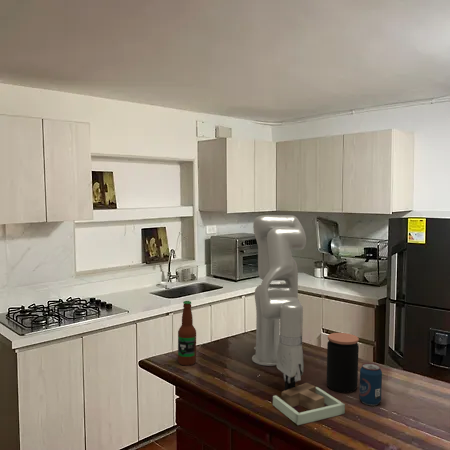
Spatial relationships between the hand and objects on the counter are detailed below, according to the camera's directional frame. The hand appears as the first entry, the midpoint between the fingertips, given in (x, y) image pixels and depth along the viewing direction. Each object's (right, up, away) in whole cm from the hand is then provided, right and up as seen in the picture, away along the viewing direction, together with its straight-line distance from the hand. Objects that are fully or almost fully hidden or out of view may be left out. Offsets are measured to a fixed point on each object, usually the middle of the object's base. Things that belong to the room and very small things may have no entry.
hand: (289, 392), depth 153 cm
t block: (+5, -2, -6) cm, 8 cm away
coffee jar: (+20, -1, +8) cm, 21 cm away
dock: (+4, -2, -9) cm, 10 cm away
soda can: (+26, -2, -3) cm, 26 cm away
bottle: (-37, +1, +30) cm, 48 cm away
